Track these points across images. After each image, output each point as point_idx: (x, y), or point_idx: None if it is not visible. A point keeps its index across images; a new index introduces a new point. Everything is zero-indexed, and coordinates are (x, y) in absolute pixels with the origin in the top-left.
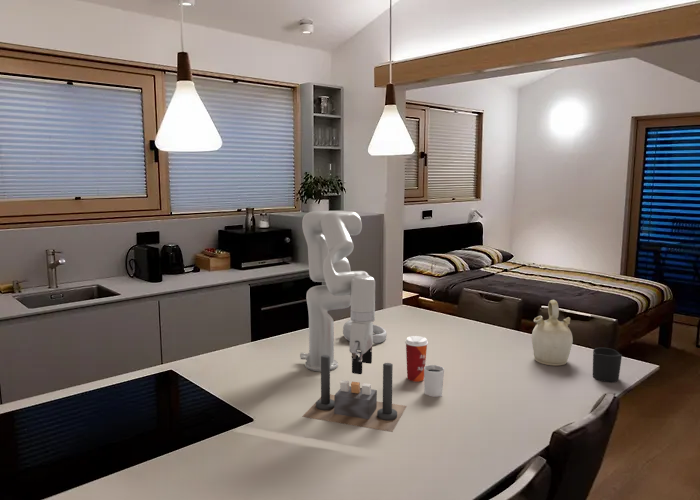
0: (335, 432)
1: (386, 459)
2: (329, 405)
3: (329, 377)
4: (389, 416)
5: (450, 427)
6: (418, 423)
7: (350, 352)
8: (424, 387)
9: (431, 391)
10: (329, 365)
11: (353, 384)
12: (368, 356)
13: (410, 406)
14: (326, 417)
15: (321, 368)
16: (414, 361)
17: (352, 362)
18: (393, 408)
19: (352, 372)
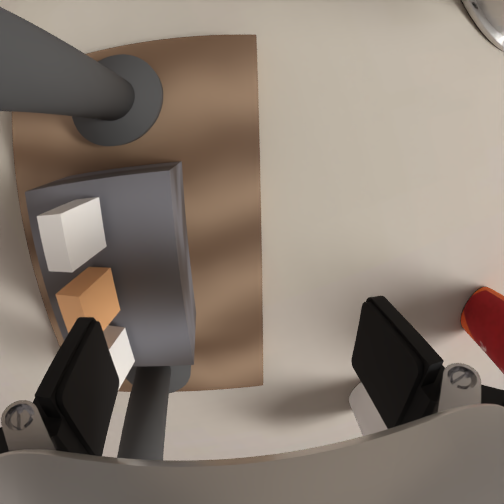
0: (8, 228)
1: (6, 379)
2: (92, 132)
3: (43, 112)
4: (130, 380)
5: (208, 456)
6: (191, 413)
7: (4, 454)
8: None
9: (358, 416)
10: None
11: (61, 311)
12: (380, 387)
13: (294, 372)
14: (33, 164)
15: None
16: (499, 350)
17: (45, 385)
18: (223, 360)
19: (80, 321)
